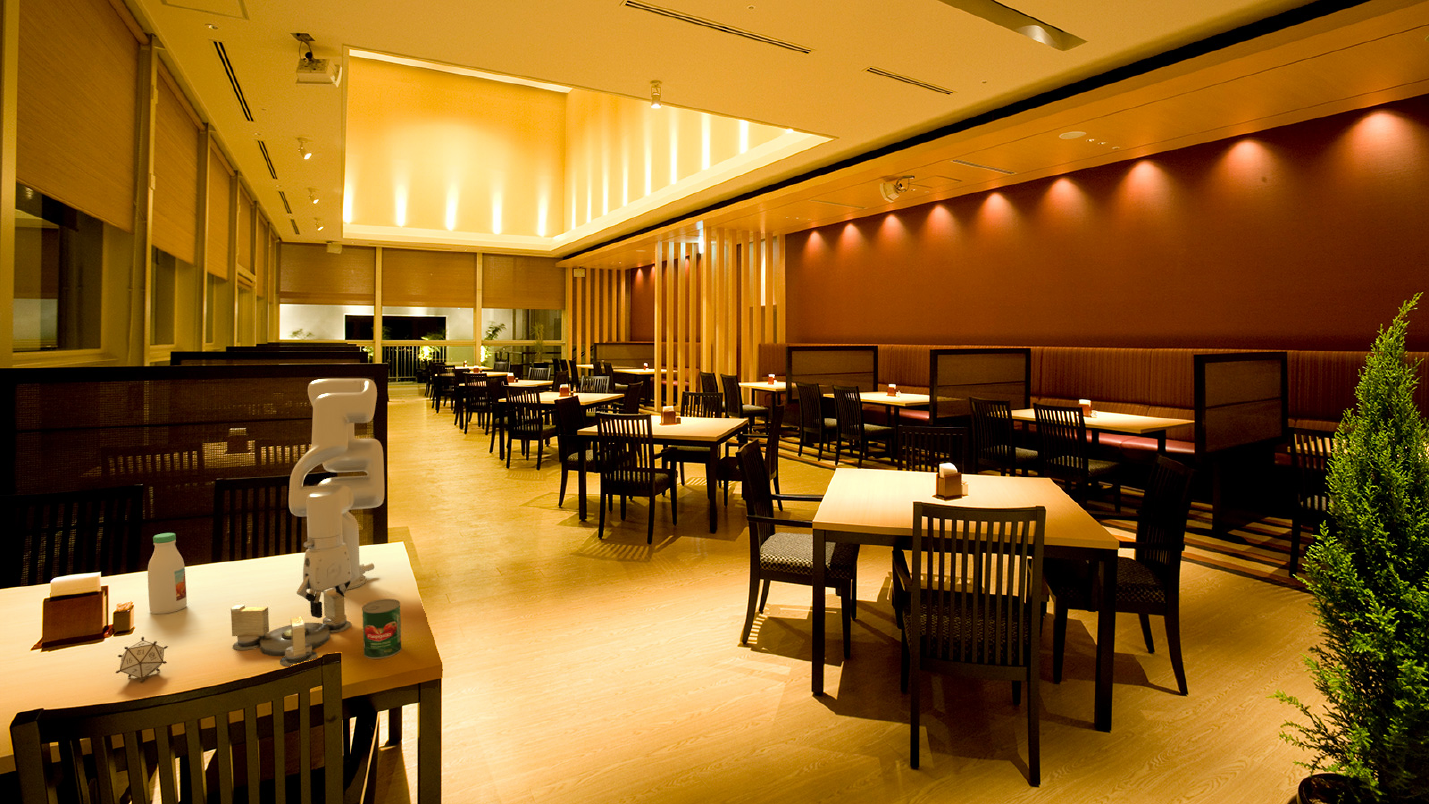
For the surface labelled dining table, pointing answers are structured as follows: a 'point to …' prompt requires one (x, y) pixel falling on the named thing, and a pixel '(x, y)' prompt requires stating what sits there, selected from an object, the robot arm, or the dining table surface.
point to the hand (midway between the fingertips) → (328, 612)
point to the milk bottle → (166, 576)
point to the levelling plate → (281, 640)
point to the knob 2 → (298, 642)
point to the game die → (142, 659)
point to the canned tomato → (381, 628)
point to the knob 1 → (249, 624)
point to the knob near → (334, 609)
